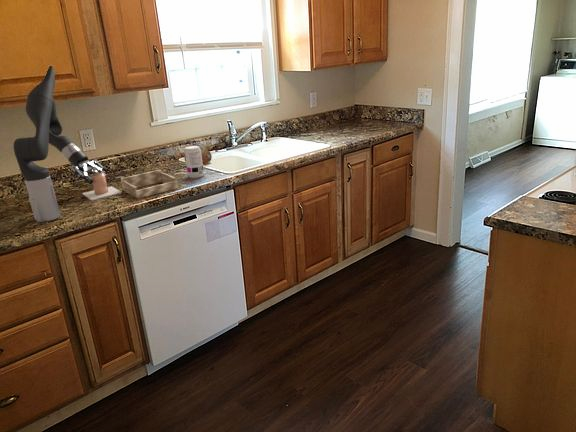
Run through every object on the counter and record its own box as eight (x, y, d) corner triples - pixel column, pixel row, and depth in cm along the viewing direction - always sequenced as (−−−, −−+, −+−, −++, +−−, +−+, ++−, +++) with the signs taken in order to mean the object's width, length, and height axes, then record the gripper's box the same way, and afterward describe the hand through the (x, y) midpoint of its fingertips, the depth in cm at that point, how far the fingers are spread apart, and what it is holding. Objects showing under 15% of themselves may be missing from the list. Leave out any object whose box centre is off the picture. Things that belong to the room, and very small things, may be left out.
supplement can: (185, 178, 230) (180, 149, 224) (192, 173, 237) (188, 145, 232) (199, 178, 227) (195, 149, 222) (206, 173, 235) (203, 145, 229)
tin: (185, 166, 252) (183, 152, 249) (185, 165, 255) (183, 150, 252) (212, 163, 256) (210, 148, 253) (211, 162, 258) (210, 147, 255)
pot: (101, 194, 209) (96, 176, 206) (92, 194, 212) (87, 175, 209) (111, 190, 214) (106, 172, 211) (102, 190, 217) (97, 171, 214)
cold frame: (137, 198, 203) (135, 185, 201) (123, 190, 216) (120, 178, 214) (178, 188, 214) (176, 175, 212) (162, 180, 228) (160, 169, 225)
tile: (91, 200, 204) (91, 199, 204) (82, 194, 214) (82, 193, 214) (122, 193, 212) (121, 192, 212) (111, 187, 222) (111, 186, 222)
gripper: (65, 153, 203) (91, 179, 203) (89, 146, 215) (113, 170, 215) (59, 164, 207) (84, 190, 207) (83, 157, 219) (106, 180, 219)
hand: (99, 180), depth 211 cm, fingers open, 8 cm apart
